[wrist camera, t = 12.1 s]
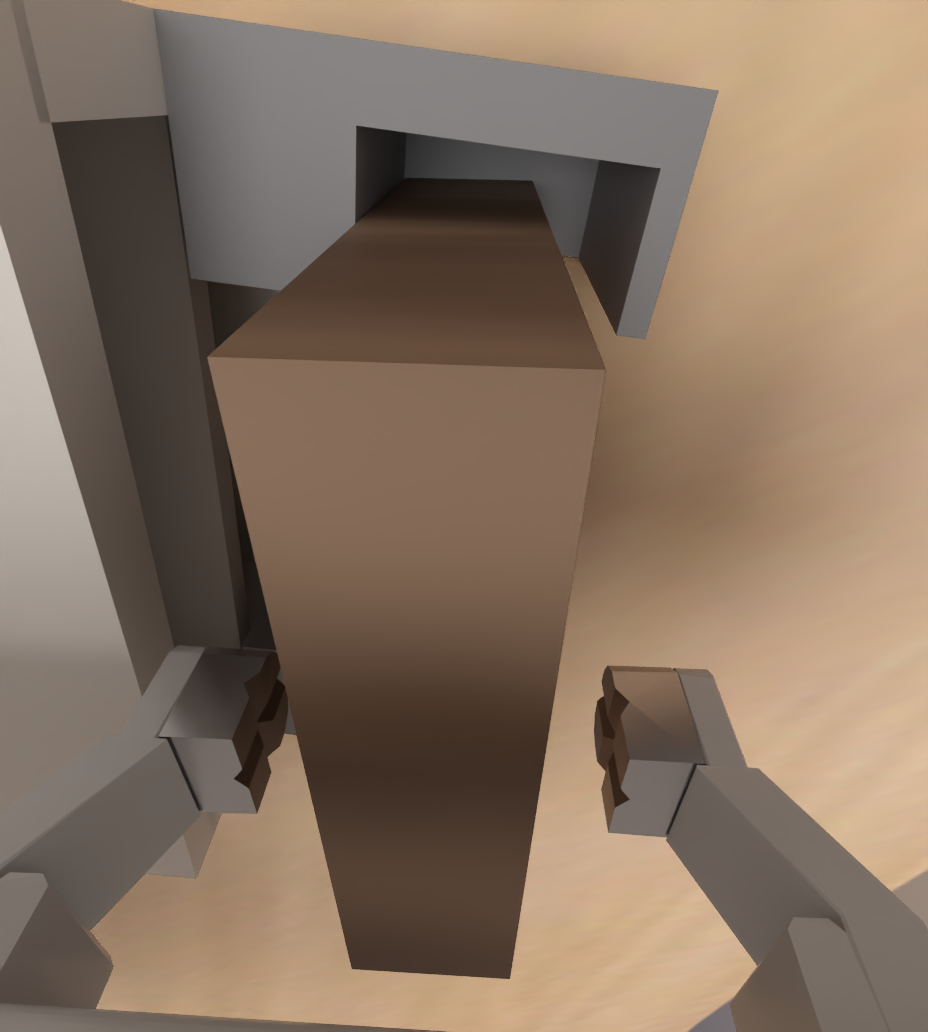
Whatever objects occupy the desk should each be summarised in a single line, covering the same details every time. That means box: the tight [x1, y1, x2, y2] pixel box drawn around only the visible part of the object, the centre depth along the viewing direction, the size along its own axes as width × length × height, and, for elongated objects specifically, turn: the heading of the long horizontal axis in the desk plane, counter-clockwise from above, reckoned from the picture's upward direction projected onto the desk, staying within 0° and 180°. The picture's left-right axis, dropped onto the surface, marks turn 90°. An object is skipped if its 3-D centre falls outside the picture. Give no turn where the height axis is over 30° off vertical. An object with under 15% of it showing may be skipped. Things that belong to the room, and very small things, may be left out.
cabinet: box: [0, 0, 718, 878], centre depth 14 cm, size 16×20×11 cm
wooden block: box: [207, 178, 606, 979], centre depth 13 cm, size 12×4×12 cm, turn 179°
